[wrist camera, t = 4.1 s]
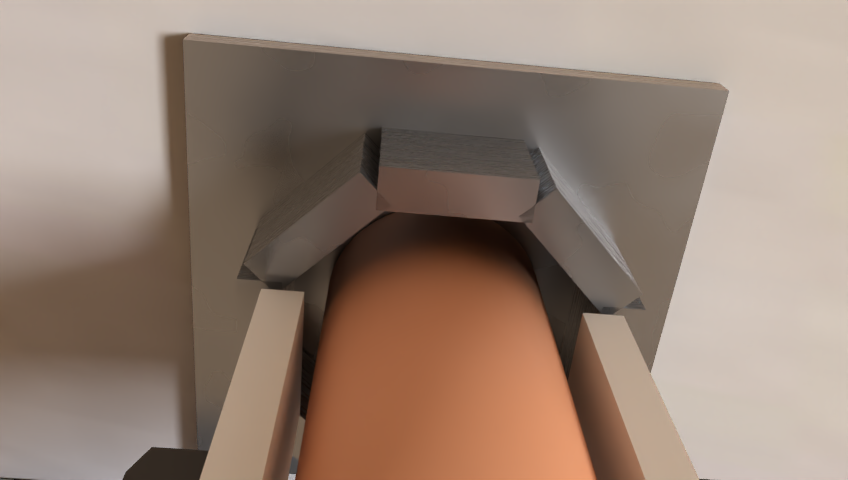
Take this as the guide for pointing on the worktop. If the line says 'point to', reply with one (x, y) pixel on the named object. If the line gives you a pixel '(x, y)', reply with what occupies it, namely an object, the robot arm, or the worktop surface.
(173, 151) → the worktop surface
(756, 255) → the worktop surface
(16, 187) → the worktop surface
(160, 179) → the worktop surface
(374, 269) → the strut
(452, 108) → the socket base
